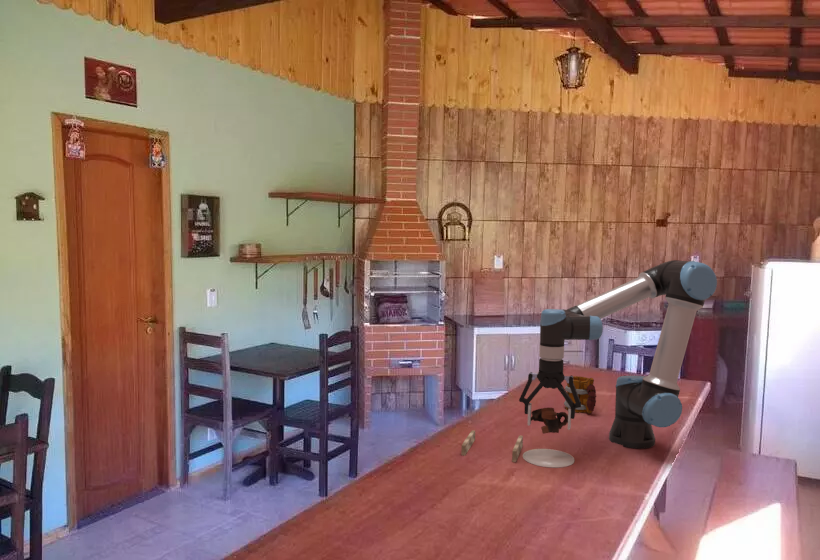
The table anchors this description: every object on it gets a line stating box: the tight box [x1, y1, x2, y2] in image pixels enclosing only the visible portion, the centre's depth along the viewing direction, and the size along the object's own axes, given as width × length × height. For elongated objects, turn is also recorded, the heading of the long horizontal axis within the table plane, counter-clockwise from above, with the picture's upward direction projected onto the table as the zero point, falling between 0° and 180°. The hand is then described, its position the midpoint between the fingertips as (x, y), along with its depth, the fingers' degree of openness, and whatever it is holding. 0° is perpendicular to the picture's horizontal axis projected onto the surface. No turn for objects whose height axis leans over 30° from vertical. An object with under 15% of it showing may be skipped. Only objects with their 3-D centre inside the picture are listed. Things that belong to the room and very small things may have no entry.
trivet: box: [522, 448, 575, 469], centre depth 200 cm, size 16×16×1 cm
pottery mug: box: [531, 407, 568, 435], centre depth 201 cm, size 12×9×8 cm
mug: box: [563, 375, 597, 415], centre depth 253 cm, size 11×16×15 cm, turn 18°
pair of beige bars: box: [461, 429, 524, 463], centre depth 206 cm, size 16×17×4 cm
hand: (548, 426), depth 199 cm, fingers closed on pottery mug, 12 cm apart
